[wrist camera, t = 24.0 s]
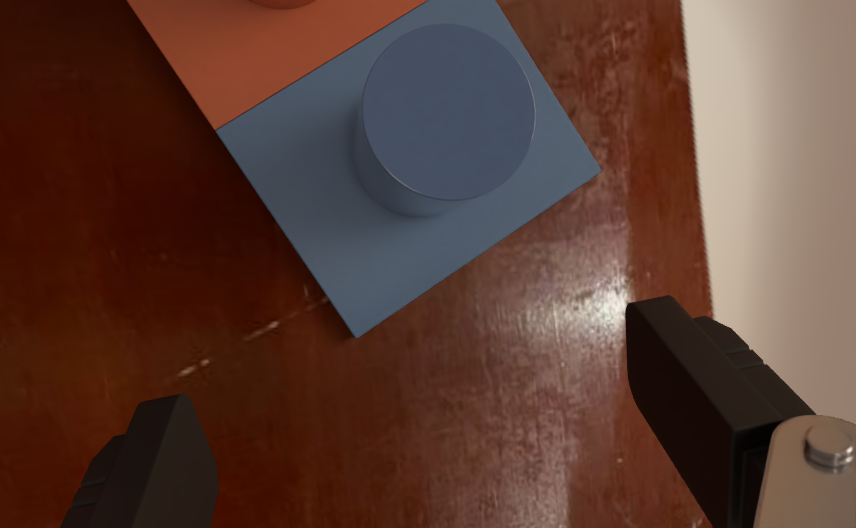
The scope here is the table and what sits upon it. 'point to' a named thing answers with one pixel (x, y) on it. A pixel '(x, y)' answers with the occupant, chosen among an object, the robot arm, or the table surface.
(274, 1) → the red cup
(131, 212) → the table surface
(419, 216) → the blue cylinder
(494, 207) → the board
